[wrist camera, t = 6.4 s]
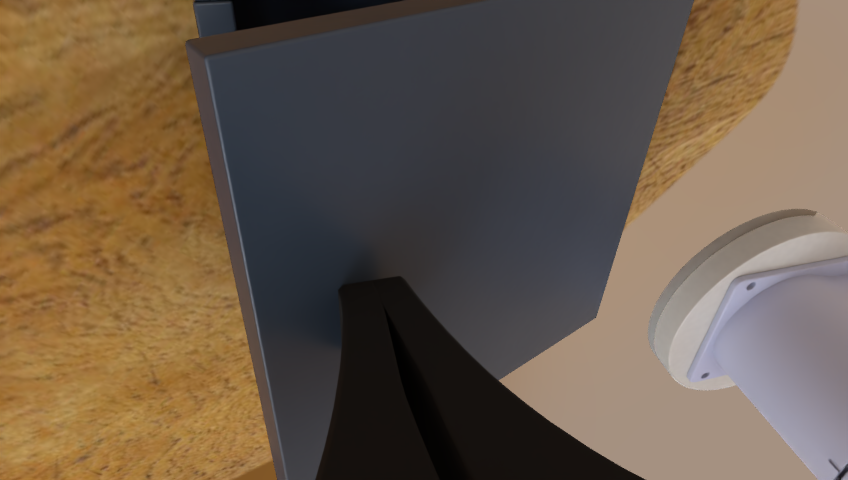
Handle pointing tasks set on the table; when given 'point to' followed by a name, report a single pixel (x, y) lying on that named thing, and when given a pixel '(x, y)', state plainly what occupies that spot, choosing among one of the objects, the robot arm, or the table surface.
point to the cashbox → (266, 12)
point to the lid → (426, 175)
